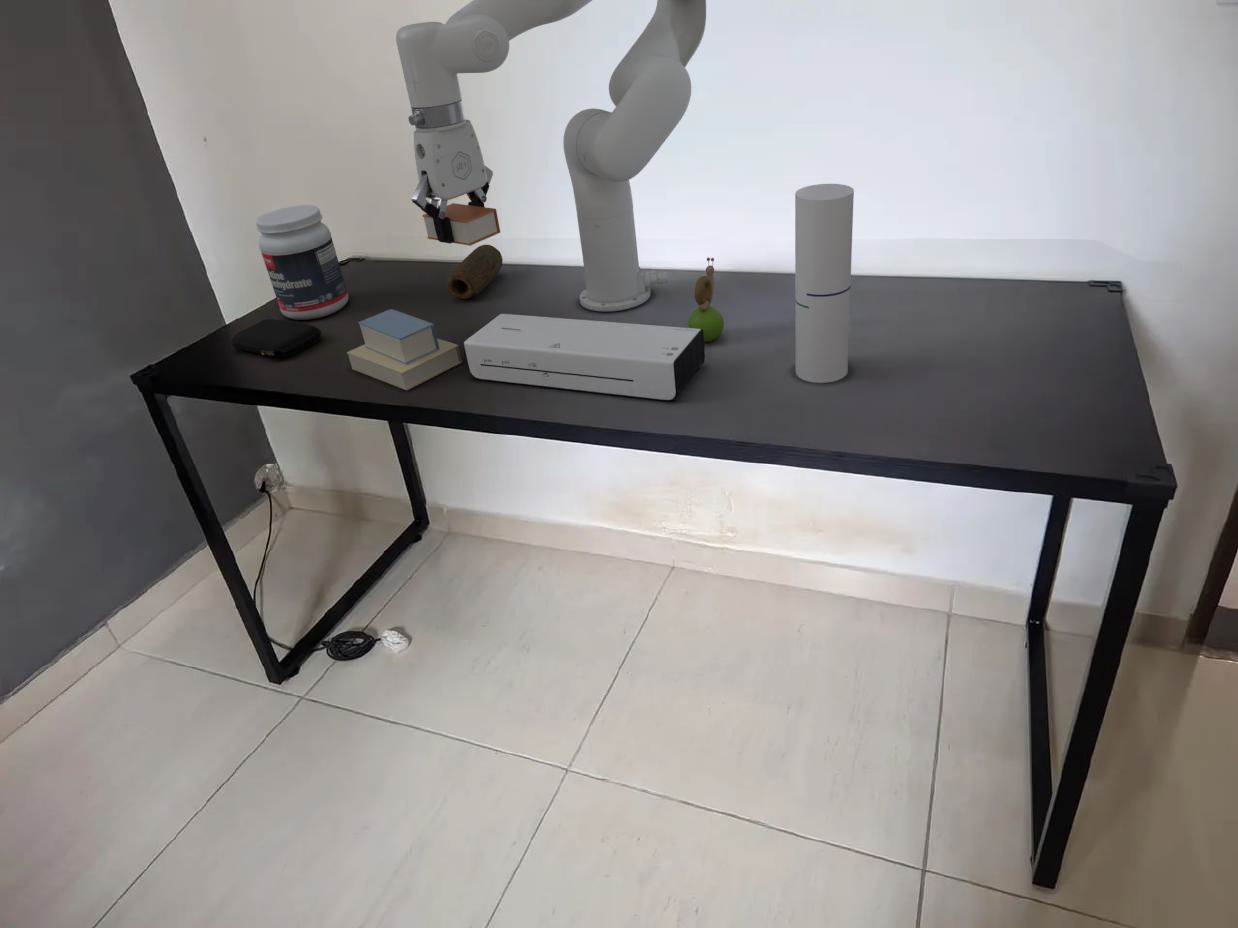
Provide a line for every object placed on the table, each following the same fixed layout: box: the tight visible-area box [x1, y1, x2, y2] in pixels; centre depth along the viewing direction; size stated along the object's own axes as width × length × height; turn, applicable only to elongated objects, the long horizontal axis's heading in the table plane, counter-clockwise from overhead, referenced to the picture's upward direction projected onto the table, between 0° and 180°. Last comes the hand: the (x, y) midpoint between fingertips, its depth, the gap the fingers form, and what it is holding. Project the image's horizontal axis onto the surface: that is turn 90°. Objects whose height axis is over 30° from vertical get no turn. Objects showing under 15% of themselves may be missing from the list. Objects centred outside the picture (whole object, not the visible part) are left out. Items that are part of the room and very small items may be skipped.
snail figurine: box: [687, 257, 725, 343], centre depth 132 cm, size 5×6×12 cm
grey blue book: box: [358, 308, 440, 365], centre depth 136 cm, size 12×6×4 cm, turn 45°
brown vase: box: [446, 244, 503, 300], centre depth 164 cm, size 15×7×7 cm, turn 168°
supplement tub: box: [255, 204, 349, 321], centre depth 161 cm, size 13×13×18 cm
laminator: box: [462, 313, 706, 402], centre depth 128 cm, size 34×12×6 cm, turn 65°
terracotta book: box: [422, 202, 501, 247], centre depth 137 cm, size 10×7×4 cm, turn 51°
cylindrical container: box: [794, 183, 855, 384], centre depth 115 cm, size 7×7×25 cm
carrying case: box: [231, 318, 322, 358], centre depth 151 cm, size 11×3×15 cm
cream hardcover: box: [346, 338, 463, 391], centre depth 138 cm, size 15×11×3 cm
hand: (463, 234), depth 138 cm, fingers closed on terracotta book, 6 cm apart
